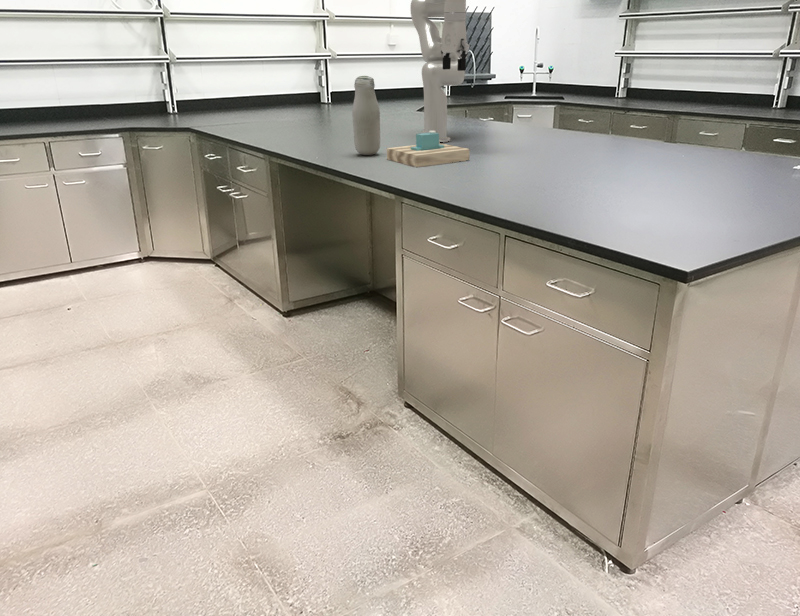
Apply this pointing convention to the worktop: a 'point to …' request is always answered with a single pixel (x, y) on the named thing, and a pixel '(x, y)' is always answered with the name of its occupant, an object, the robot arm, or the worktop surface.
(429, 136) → the servo
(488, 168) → the worktop surface
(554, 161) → the worktop surface
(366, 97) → the grey bottle
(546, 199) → the worktop surface
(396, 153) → the tan flat slab
